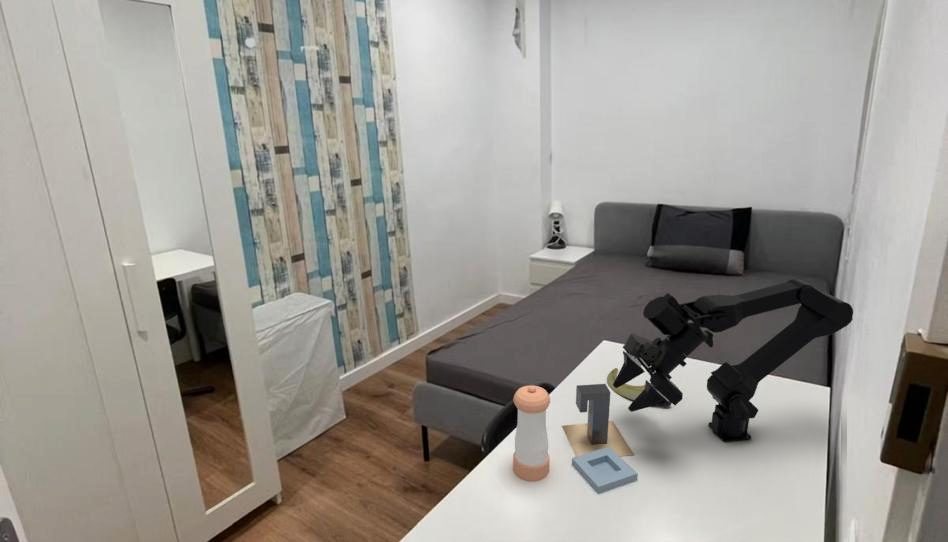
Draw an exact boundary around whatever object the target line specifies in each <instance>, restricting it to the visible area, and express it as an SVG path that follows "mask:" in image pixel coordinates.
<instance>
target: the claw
mask: <svg viewBox="0 0 948 542" xmlns="http://www.w3.org/2000/svg"><path fill="white" fill-rule="evenodd" d="M618 370H619V369H618V368H617V367H615V368H614V369H612V370H611V371H610V372H609V373H608V375H607V376H606V377H607V378H606V381H607V385H608V387H609V388H610V389H611V391H613V392H615V393H616V394H618V395H620V396H622V397H624V398H625V399H629V400H631V401H634V400H635V399H636V398H637V397H638V396H639V395H640V394H641V393H642V391H643V390H644V389H645V384H644V385H632V384H628V383H625V384H624V385H622V386H620V387H618V388H615V387H614V386H613V383H614V381H615V379H616V377H617V376H618ZM649 383H650V384H651V385H652V383H651V382H649ZM669 402H670V401H669ZM670 403H671V402H670ZM672 405H673V404H672V403H671V404H670V405H668V404H667V403H666V404H661V405H658V407H659V406H660V407H661V406H662V407H670V406H672Z"/></svg>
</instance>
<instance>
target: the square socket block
mask: <svg viewBox="0 0 948 542" xmlns="http://www.w3.org/2000/svg"><path fill="white" fill-rule="evenodd" d="M571 465H572V466H573V468H574V469H575V470H576V471H577V472H578V473H579V474H580V475H581V477H582V478H584V480H585V481H586V482H587V483H588V484H589V486H590V487H592V488H593V490H594V491H595V492H596V494H599V495H600V494H601V493H604V492H607V491H610V490H612V489H615V488H618V487H621V486H624V485H626V484H627V485H628V484H630V483H632V482H635V481H638V472H637V471H636V470H635V469H633V467H632V466H631V465H629V463H627V462H626V460H624V459H623V458H622V457H620V456H619V455H618V454H617V453H616V452H614V451H613V450H612V449H611V448H610V447H606V448H602V449H599V450H596V451H593V452H590V453H587V454H583V455H580V456H577V457H576V456H575V457H572V458H571Z"/></svg>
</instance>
